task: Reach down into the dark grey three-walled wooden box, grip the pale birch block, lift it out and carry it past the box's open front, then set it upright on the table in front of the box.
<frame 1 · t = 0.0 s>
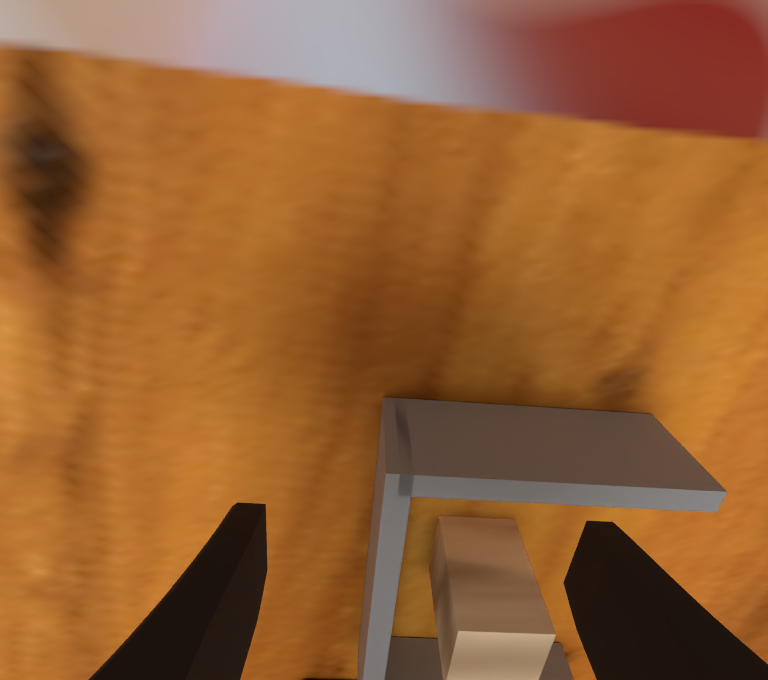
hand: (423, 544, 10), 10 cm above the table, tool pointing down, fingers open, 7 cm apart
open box: (488, 546, 24), on the table
birch block: (470, 544, 25), on the table
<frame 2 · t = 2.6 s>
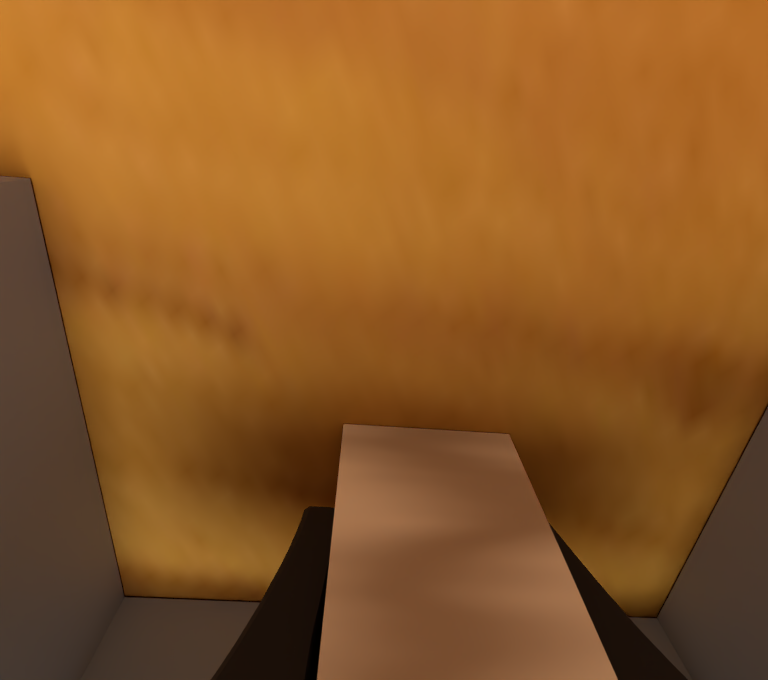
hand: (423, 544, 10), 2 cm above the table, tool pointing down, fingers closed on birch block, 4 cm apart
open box: (422, 462, 11), on the table
birch block: (417, 492, 12), on the table, touching gripper
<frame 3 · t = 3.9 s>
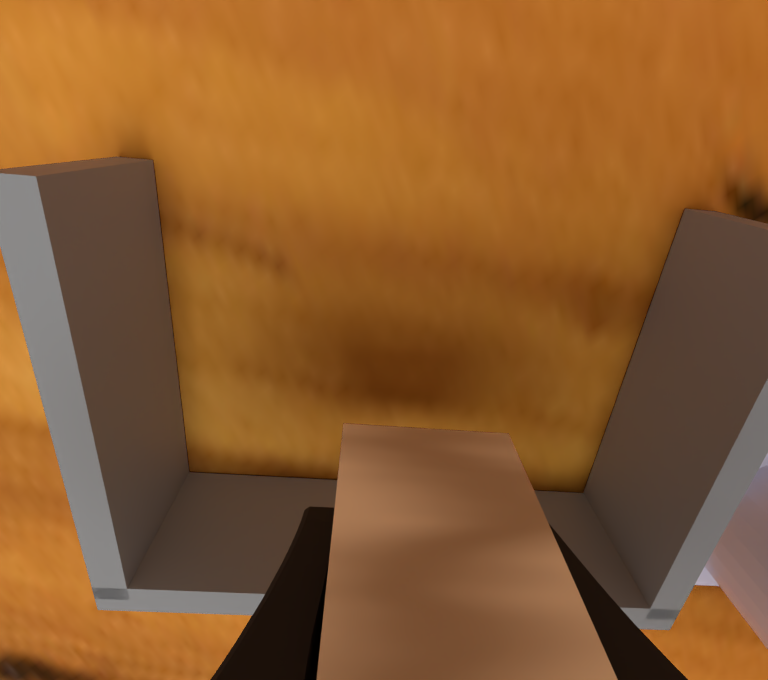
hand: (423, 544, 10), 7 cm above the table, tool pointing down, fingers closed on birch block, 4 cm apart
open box: (406, 362, 16), on the table
birch block: (416, 492, 12), point 5 cm above the table, touching gripper
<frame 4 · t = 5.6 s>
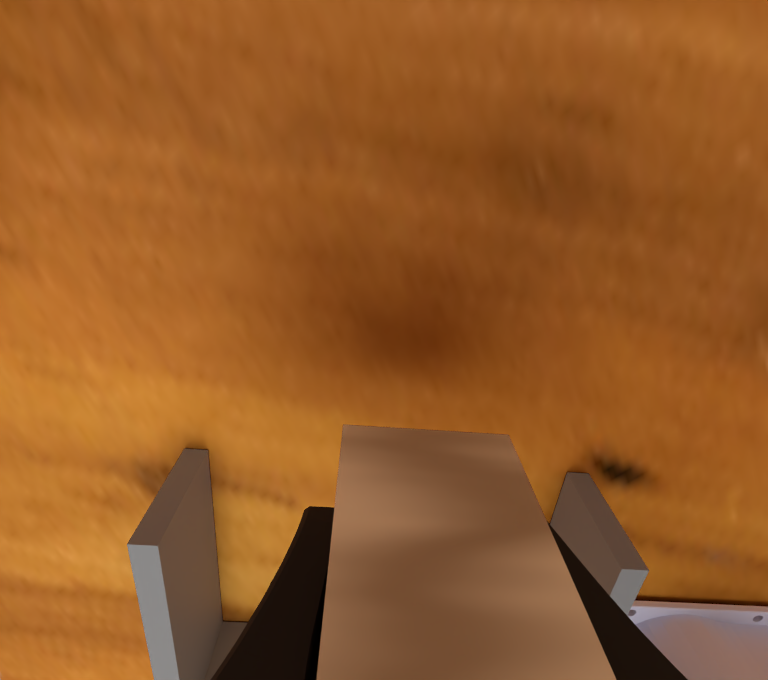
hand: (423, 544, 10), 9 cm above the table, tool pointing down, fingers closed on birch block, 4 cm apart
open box: (379, 556, 23), on the table
birch block: (416, 493, 12), point 7 cm above the table, touching gripper
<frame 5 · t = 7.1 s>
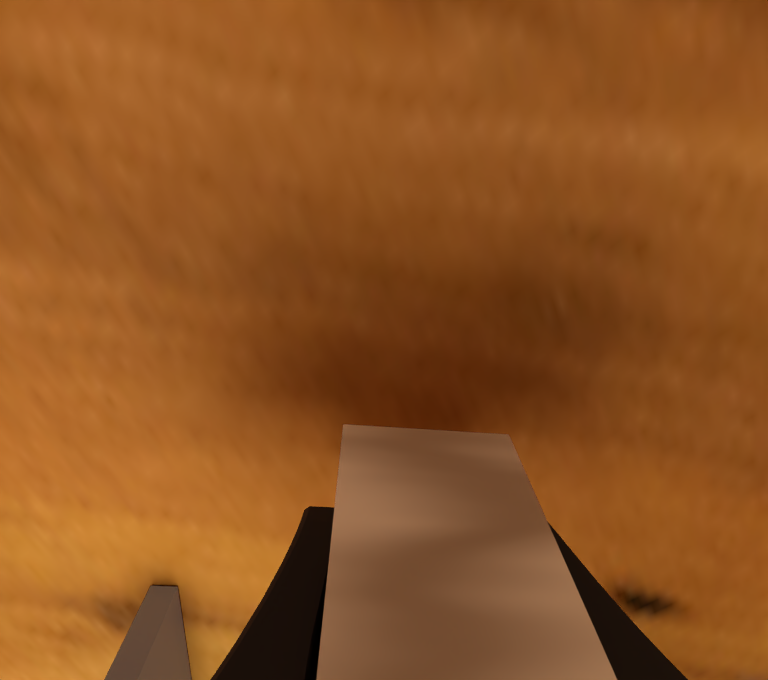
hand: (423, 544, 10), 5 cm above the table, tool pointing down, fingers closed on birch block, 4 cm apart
birch block: (416, 493, 12), point 3 cm above the table, touching gripper
when the fingers open (2 cm above the table, at t = 8.5 s): birch block stays where it is, on the table.
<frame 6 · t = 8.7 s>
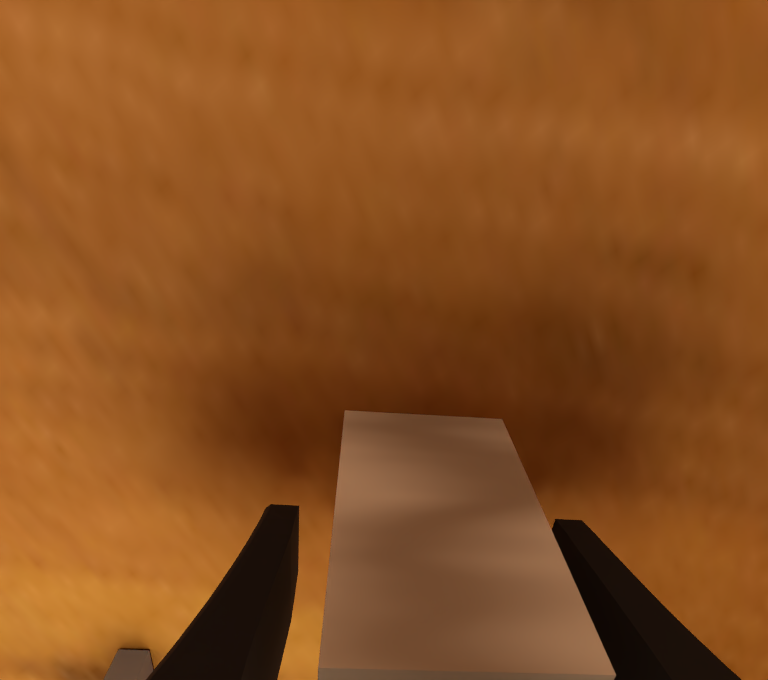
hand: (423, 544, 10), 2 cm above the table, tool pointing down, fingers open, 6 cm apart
birch block: (415, 476, 12), on the table
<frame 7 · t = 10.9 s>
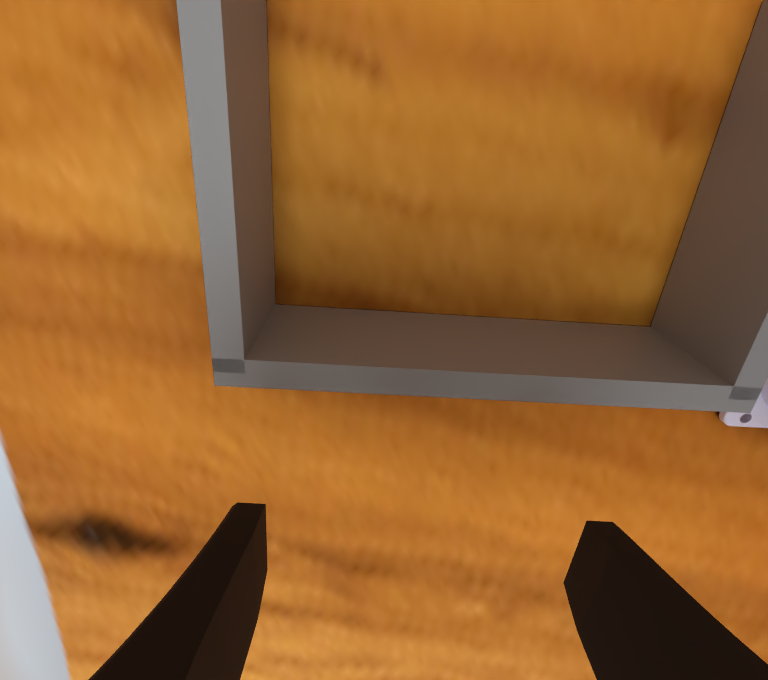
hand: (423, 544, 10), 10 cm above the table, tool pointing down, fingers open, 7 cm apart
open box: (488, 178, 17), on the table
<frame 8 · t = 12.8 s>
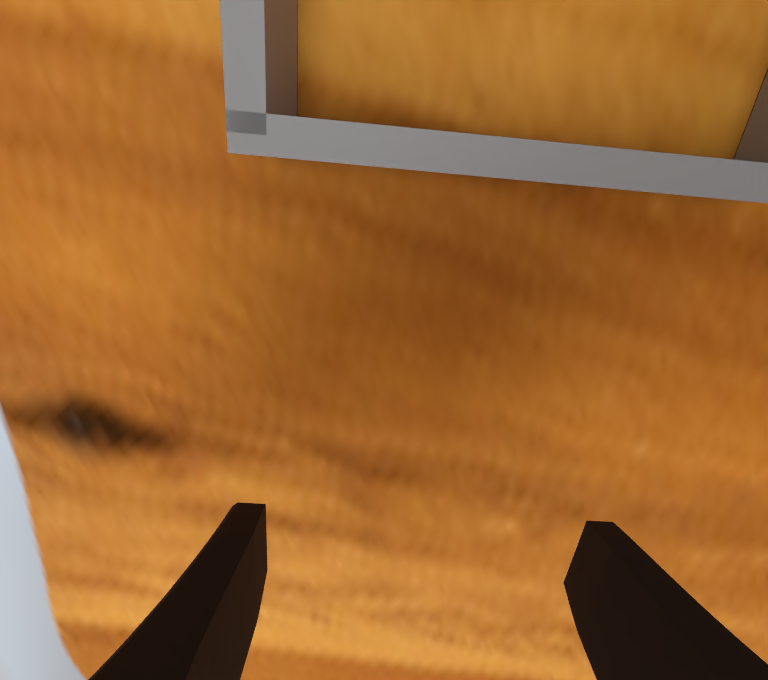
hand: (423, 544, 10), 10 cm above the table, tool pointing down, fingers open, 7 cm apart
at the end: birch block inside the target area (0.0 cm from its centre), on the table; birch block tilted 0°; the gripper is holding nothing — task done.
